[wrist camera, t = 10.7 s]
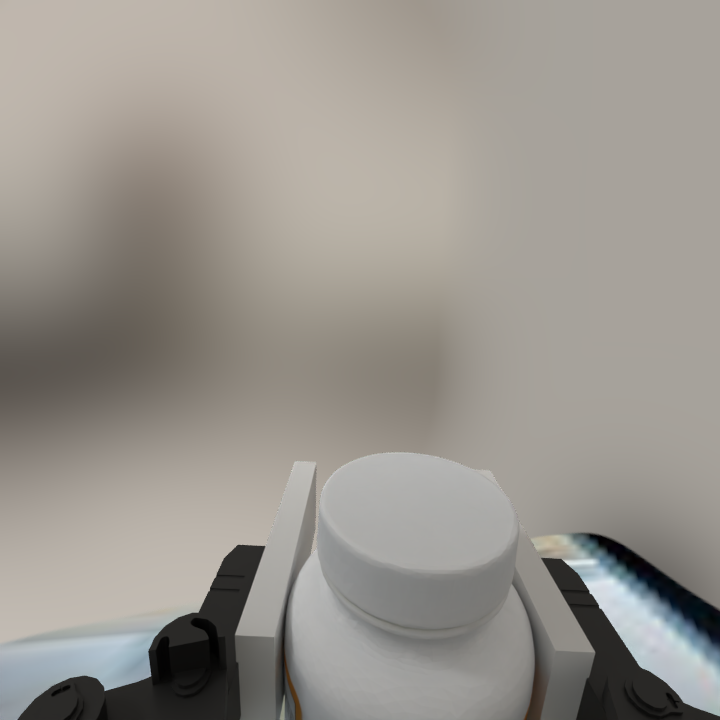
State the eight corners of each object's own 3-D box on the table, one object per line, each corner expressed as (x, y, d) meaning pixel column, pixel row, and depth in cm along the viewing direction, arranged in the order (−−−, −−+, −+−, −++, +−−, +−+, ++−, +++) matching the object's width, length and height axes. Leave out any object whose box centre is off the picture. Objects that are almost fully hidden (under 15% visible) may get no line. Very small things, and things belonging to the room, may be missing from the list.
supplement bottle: (525, 806, 11) (596, 497, 8) (415, 1113, 7) (486, 700, 4) (374, 668, 14) (392, 419, 12) (243, 820, 10) (227, 494, 8)
